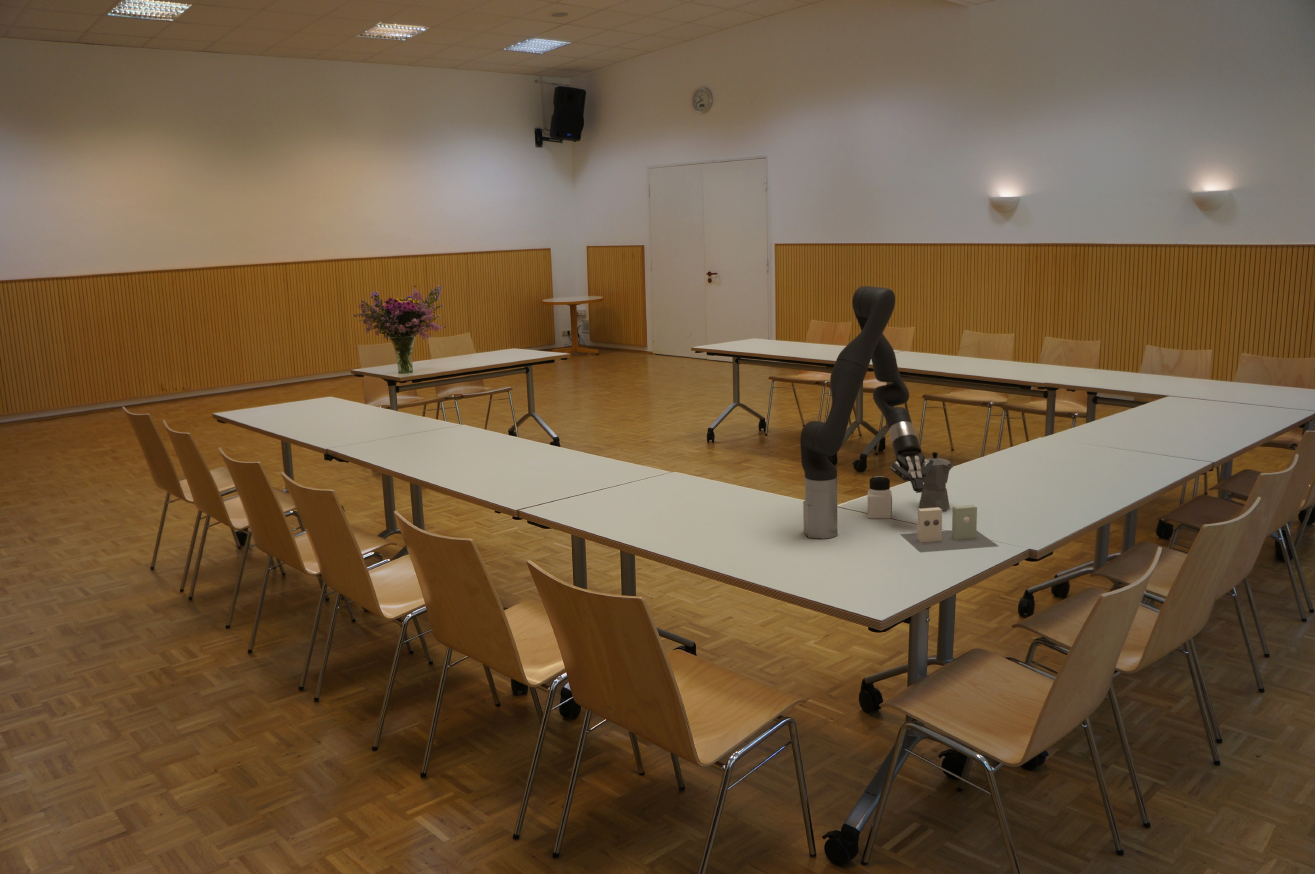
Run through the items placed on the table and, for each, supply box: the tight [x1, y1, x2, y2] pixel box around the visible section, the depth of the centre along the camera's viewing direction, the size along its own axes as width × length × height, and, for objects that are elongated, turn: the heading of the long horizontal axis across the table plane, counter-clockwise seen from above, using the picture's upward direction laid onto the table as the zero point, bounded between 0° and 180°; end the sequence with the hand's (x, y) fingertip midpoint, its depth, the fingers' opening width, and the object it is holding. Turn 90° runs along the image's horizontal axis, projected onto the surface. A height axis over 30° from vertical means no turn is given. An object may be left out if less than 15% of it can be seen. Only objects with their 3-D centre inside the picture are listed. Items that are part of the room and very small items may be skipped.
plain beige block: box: [917, 507, 943, 542], centre depth 263 cm, size 6×3×9 cm, turn 95°
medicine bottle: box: [867, 475, 893, 519], centre depth 290 cm, size 7×7×12 cm
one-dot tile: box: [951, 504, 978, 540], centre depth 264 cm, size 6×3×9 cm, turn 95°
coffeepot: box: [918, 451, 954, 513], centre depth 295 cm, size 15×9×18 cm, turn 35°
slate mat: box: [899, 529, 999, 553], centre depth 264 cm, size 22×16×1 cm
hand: (919, 491), depth 270 cm, fingers closed
